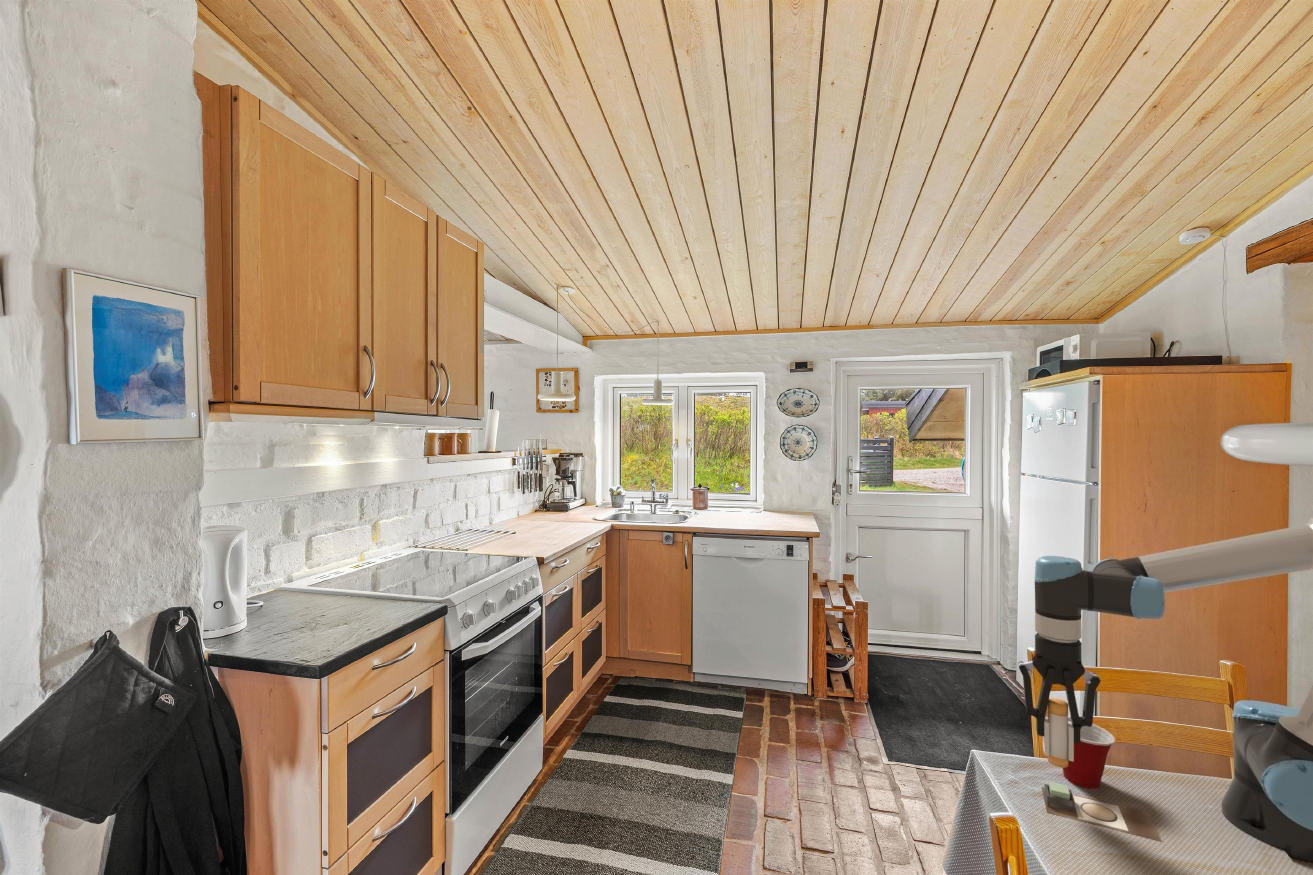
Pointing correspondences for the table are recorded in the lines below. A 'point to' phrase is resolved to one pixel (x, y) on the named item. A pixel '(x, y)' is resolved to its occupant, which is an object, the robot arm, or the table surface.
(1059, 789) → the button
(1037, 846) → the table surface
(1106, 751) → the plastic cup
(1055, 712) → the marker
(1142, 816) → the board
